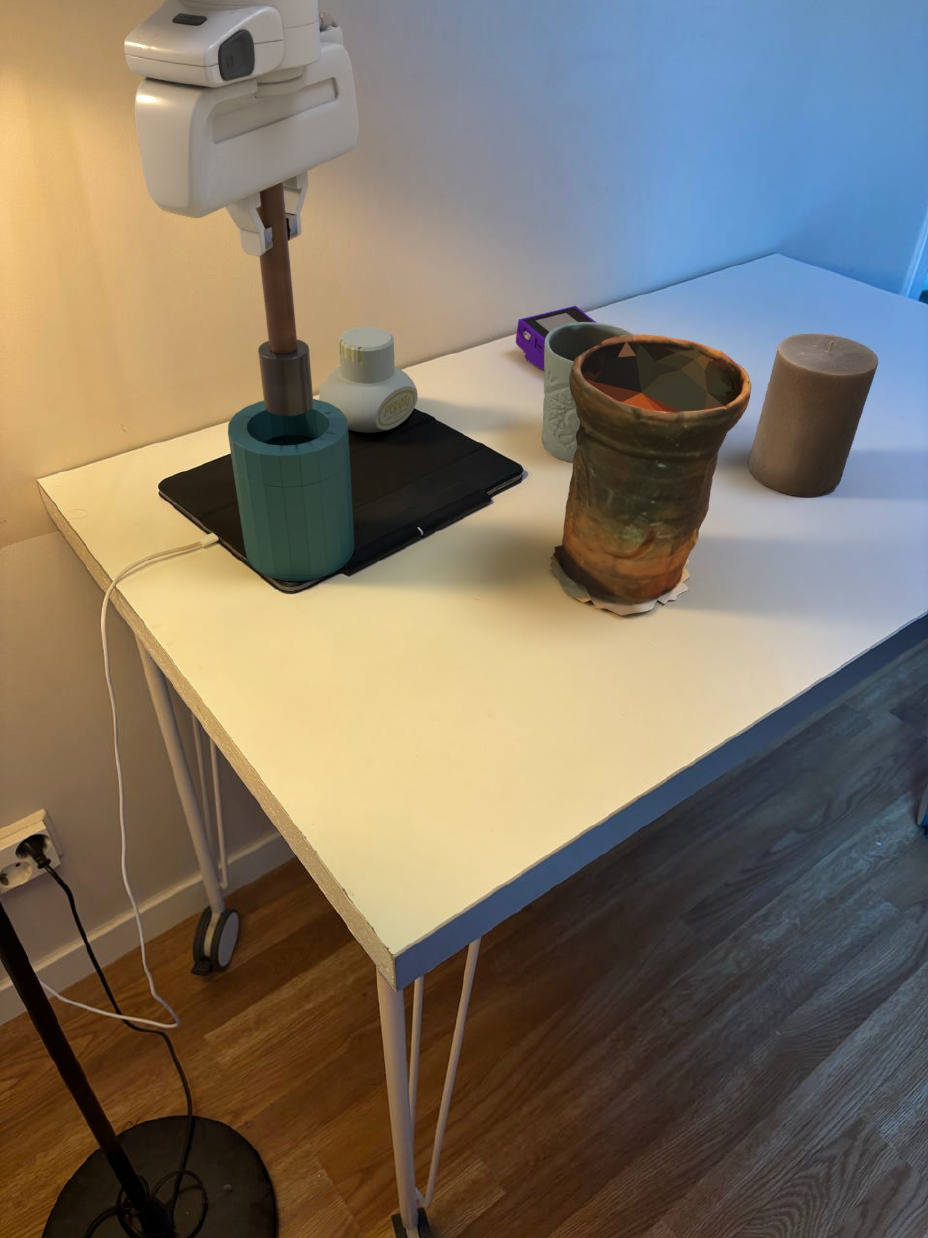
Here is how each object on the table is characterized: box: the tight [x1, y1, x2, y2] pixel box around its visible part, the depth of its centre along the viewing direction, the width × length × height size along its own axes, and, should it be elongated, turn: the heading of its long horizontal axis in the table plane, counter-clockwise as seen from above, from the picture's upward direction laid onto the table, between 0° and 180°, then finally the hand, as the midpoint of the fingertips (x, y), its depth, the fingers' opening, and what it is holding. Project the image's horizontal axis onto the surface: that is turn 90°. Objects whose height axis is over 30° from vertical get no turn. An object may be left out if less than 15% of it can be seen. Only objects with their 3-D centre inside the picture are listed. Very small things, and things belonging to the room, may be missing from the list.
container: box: [227, 398, 355, 582], centre depth 85 cm, size 10×10×13 cm
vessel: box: [548, 334, 752, 616], centre depth 82 cm, size 14×14×20 cm
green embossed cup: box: [541, 321, 635, 464], centre depth 101 cm, size 10×10×12 cm
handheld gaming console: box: [515, 305, 598, 372], centre depth 118 cm, size 9×5×15 cm
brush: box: [256, 182, 314, 416], centre depth 73 cm, size 4×4×18 cm
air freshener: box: [318, 325, 419, 434], centre depth 105 cm, size 11×8×10 cm
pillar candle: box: [747, 332, 879, 498], centre depth 97 cm, size 10×10×15 cm
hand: (272, 244), depth 70 cm, fingers closed on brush, 2 cm apart
